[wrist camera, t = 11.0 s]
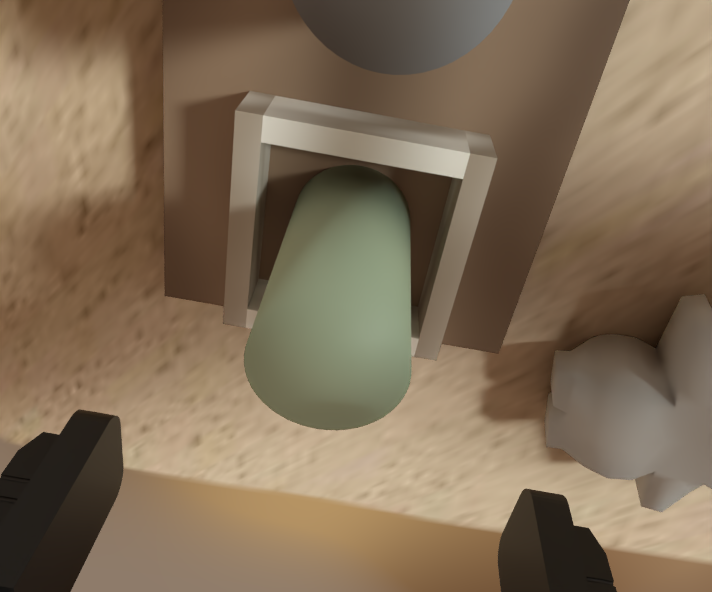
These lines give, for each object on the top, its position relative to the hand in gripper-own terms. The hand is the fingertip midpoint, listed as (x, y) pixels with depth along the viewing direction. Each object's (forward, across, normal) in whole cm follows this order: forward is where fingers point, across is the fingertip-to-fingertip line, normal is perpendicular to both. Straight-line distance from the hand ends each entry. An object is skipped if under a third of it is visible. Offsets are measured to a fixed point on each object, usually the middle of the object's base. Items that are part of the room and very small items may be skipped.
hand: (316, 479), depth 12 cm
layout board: (+13, 0, -5) cm, 13 cm away
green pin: (+11, 0, 0) cm, 11 cm away
